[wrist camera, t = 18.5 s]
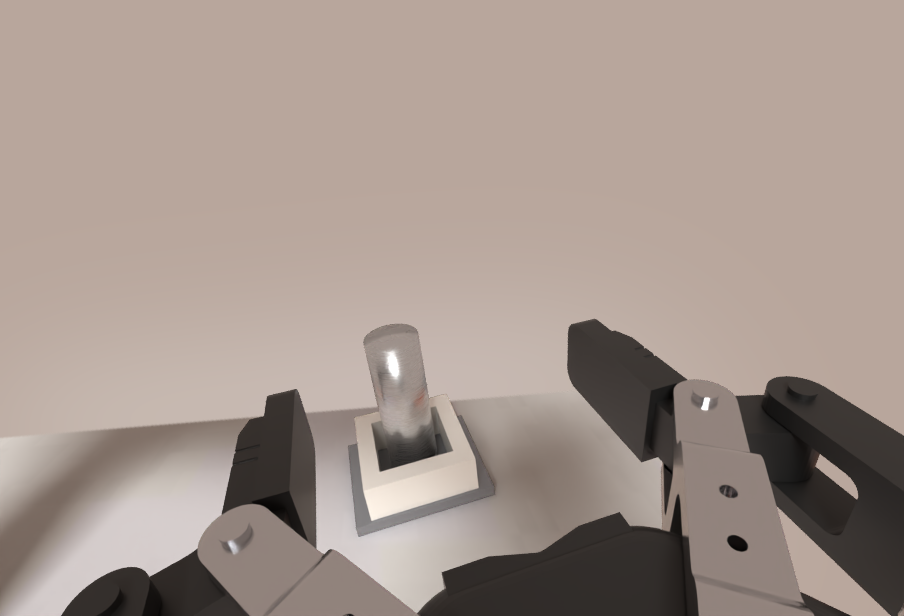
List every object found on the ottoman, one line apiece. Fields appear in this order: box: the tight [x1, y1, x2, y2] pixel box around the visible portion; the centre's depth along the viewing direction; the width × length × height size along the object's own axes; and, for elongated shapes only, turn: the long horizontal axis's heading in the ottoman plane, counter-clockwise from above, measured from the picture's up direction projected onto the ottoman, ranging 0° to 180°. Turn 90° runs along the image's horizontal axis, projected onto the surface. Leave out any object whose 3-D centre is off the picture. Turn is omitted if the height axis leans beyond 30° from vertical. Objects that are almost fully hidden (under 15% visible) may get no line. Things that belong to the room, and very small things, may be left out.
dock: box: [348, 394, 495, 537], centre depth 42 cm, size 12×10×4 cm
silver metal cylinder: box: [363, 324, 438, 468], centre depth 39 cm, size 4×4×14 cm
